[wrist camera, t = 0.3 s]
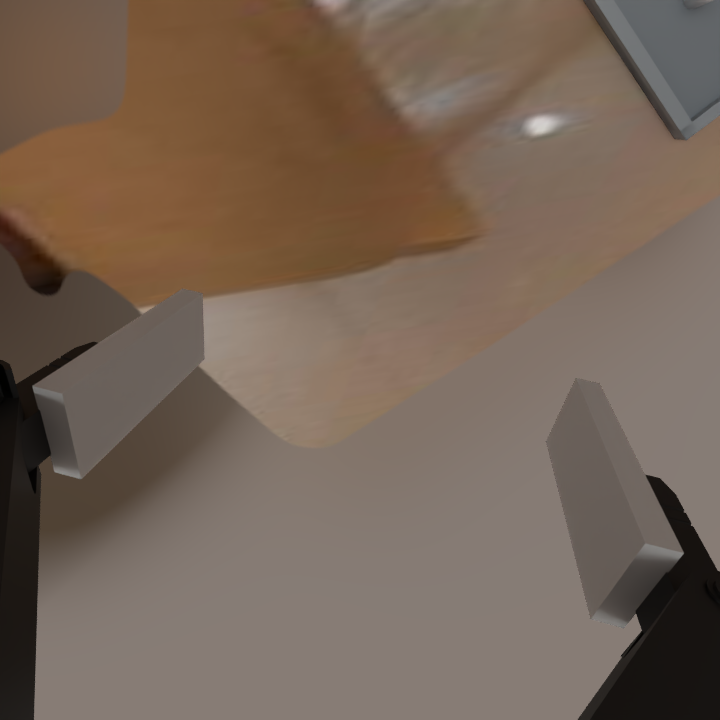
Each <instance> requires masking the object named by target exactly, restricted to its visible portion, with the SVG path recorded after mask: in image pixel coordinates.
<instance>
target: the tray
mask: <svg viewBox="0 0 720 720" xmlns="http://www.w3.org/2000/svg"><path fill="white" fill-rule="evenodd" d="M583 1H584V2H585V4H586V5H587V7H588V8H589V10H590V11H591V13H592V14H593V16H594V17H595V19H596V20H597V22H598V23H599V25H600V26H601V28H602V29H603V31H604V32H605V34H606V35H607V37H608V38H609V40H610V41H611V43H612V44H613V46H614V48H615V49H616V51H617V52H618V54H619V55H620V57H621V58H622V60H623V61H624V63H625V64H626V66H627V67H628V69H629V70H630V72H631V73H632V75H633V76H634V78H635V79H636V81H637V82H638V84H639V85H640V87H641V88H642V90H643V91H644V93H645V94H646V96H647V98H648V99H649V101H650V102H651V104H652V105H653V107H654V108H655V110H656V111H657V113H658V114H659V116H660V117H661V119H662V120H663V122H664V123H665V125H666V126H667V128H668V129H669V131H670V132H671V134H672V135H673V137H674V138H675V139H681V140H687V139H689V138H690V137H691V136H693V135H694V134H695V133H697V132H698V131H699V130H701V129H702V128H703V127H705V126H706V125H707V124H709V123H710V122H711V121H713V120H714V119H715V118H717V117H718V116H719V115H720V0H583Z"/></svg>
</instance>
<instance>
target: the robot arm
mask: <svg viewBox="0 0 720 720" xmlns="http://www.w3.org/2000/svg"><path fill="white" fill-rule="evenodd" d="M203 360H204V327H203V293H199V292H195V291H191V290H186V289H181V290H180V291H178V292H177V293H175V294H174V295H172V296H170V297H169V298H167V299H166V300H164V301H163V302H161V303H160V304H158V305H157V306H155V307H153V308H152V309H150V310H149V311H147V312H146V313H144V314H143V315H141V316H140V317H138V318H137V319H135V320H133V321H132V322H130V323H129V324H127V325H126V326H124V327H123V328H121V329H120V330H118V331H116V332H115V333H113V334H112V335H111V336H109V337H107V338H106V339H104V340H103V341H101V342H99V343H96V342H91V343H88V344H85V345H82V346H79V347H76V348H74V349H72V350H71V351H69V352H67V353H66V354H64V355H63V356H61V358H60V359H59V358H58V359H56V360H55V361H53V362H51V363H50V364H49V366H45V367H43V368H42V369H40V370H39V371H37V372H35V373H34V374H32V375H30V376H29V377H27V378H26V379H24V380H22V381H21V382H19V383H18V384H15V380H14V376H13V373H12V369H11V367H10V364H8V363H7V362H5V361H3V360H0V720H34V695H35V663H36V662H35V661H36V628H37V626H36V625H37V595H38V594H37V593H38V562H39V528H40V494H41V472H40V469H39V464H40V463H41V462H43V460H45V459H46V458H47V457H49V456H51V460H52V464H53V468H54V472H57V473H60V474H64V475H68V476H71V477H75V478H79V479H82V478H83V477H84V476H85V475H86V474H87V473H88V472H89V471H90V470H91V469H92V468H93V467H94V466H95V465H96V464H97V463H98V462H99V461H100V460H101V459H102V458H103V457H104V456H105V455H106V454H108V452H110V451H111V450H112V449H113V448H114V447H115V446H116V445H117V444H118V443H119V442H120V441H121V440H122V439H123V438H124V437H125V436H126V435H127V434H128V433H129V432H130V431H131V430H132V429H133V428H134V427H135V426H136V425H137V424H138V423H139V422H140V421H141V420H142V419H143V418H144V417H145V416H146V415H147V414H149V413H150V412H151V411H152V410H153V409H154V408H155V407H156V406H157V405H158V404H159V402H161V401H162V400H163V399H164V398H165V397H166V396H167V395H168V394H169V393H170V392H171V391H172V390H173V389H174V388H175V387H176V386H177V385H178V384H179V383H180V382H181V381H182V380H183V379H184V378H185V377H186V376H187V375H189V373H190V372H192V371H193V369H195V368H196V367H197V366H198V365H199V364H200V363H201V362H202V361H203ZM546 443H547V447H548V451H549V455H550V459H551V463H552V467H553V471H554V475H555V479H556V483H557V487H558V491H559V495H560V499H561V503H562V507H563V511H564V515H565V519H566V522H567V527H568V531H569V535H570V539H571V543H572V547H573V551H574V555H575V559H576V562H577V567H578V571H579V575H580V578H581V583H582V587H583V591H584V595H585V599H586V602H587V607H588V610H589V615H590V618H591V619H592V620H596V621H600V622H603V623H607V624H610V625H614V626H618V627H621V628H624V627H625V626H626V625H627V624H628V623H629V621H630V620H631V619H632V617H633V616H634V615H635V614H637V617H638V620H639V623H640V626H641V629H642V631H641V633H640V634H639V635H638V636H637V637H636V639H635V640H634V641H633V642H632V643H631V644H630V645H629V647H628V648H627V649H626V650H625V651H624V653H623V654H622V655H621V656H622V658H621V660H620V661H619V662H618V664H617V665H616V666H615V668H614V669H613V671H612V672H611V674H610V675H609V676H608V678H607V679H606V681H605V682H604V683H603V685H602V686H601V688H600V689H599V691H598V692H597V693H596V695H595V696H594V697H593V699H592V700H591V702H590V703H589V704H588V706H587V707H586V709H585V710H584V711H583V713H582V714H581V716H580V717H579V719H578V720H720V572H719V571H717V569H716V567H715V565H714V563H713V561H712V560H711V558H710V556H709V554H708V552H707V551H706V549H705V547H704V545H703V543H702V541H701V540H700V538H699V536H698V534H697V532H696V531H695V529H694V527H693V526H691V522H690V520H689V518H688V516H687V514H686V513H684V509H683V507H682V505H681V503H680V502H679V500H678V498H677V496H676V494H675V493H674V492H673V491H672V490H671V489H670V488H669V487H668V486H667V485H666V484H665V483H664V482H663V481H662V480H661V479H660V478H657V477H653V476H648V475H645V474H644V472H643V470H642V468H641V466H640V464H639V462H638V460H637V458H636V456H635V454H634V452H633V450H632V448H631V446H630V444H629V442H628V440H627V438H626V436H625V433H624V431H623V429H622V428H621V425H620V423H619V422H618V420H617V417H616V415H615V414H614V411H613V409H612V407H611V406H610V404H609V401H608V399H607V397H606V396H605V393H604V391H603V389H602V388H601V385H600V384H599V383H596V382H591V381H587V380H583V379H577V378H576V379H575V381H574V383H573V385H572V388H571V389H570V392H569V394H568V396H567V398H566V400H565V402H564V405H563V406H562V409H561V411H560V413H559V415H558V417H557V419H556V421H555V424H554V426H553V428H552V430H551V432H550V434H549V436H548V439H547V441H546Z"/></svg>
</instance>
